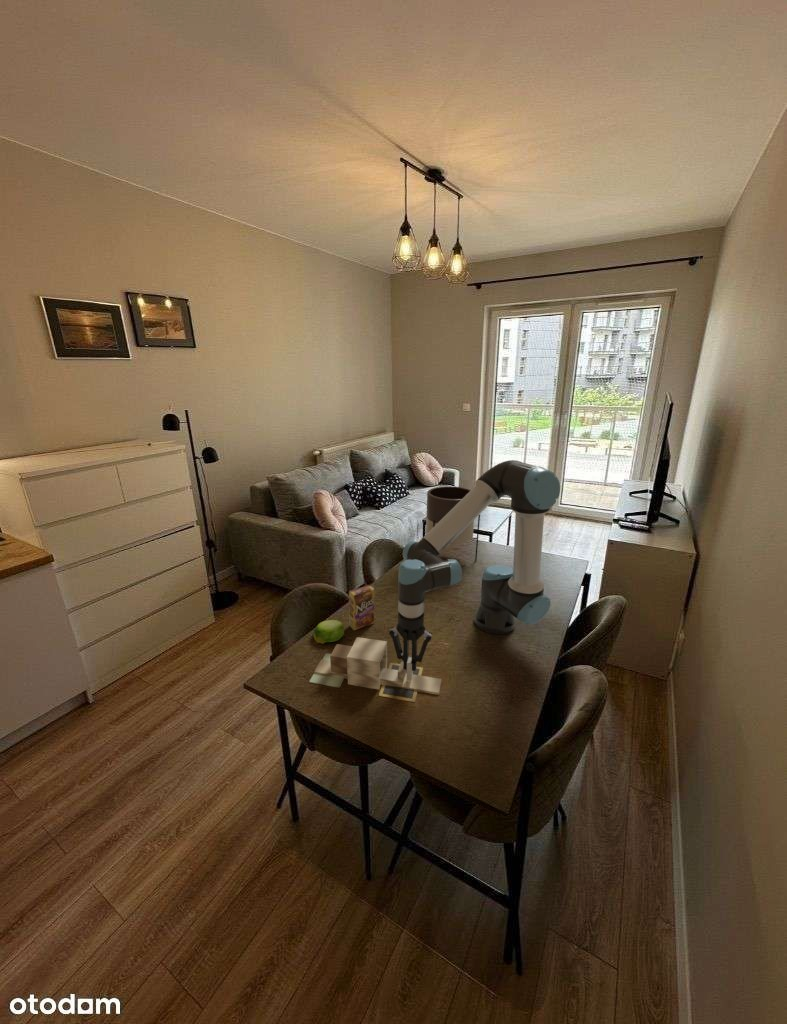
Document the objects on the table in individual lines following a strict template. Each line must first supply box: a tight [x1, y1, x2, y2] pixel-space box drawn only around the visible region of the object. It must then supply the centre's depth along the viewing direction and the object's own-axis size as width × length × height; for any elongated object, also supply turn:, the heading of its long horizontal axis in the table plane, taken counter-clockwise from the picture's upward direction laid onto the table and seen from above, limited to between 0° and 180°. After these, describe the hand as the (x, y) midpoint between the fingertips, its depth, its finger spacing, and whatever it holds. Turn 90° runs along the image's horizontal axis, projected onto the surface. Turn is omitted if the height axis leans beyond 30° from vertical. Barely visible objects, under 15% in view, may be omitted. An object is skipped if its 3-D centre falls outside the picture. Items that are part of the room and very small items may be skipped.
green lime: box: [312, 619, 345, 645], centre depth 151 cm, size 12×11×5 cm
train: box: [329, 643, 406, 685], centre depth 131 cm, size 24×6×7 cm, turn 77°
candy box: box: [348, 584, 375, 631], centre depth 156 cm, size 9×4×15 cm, turn 123°
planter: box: [425, 485, 481, 562], centre depth 206 cm, size 26×25×35 cm
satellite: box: [308, 637, 442, 703], centre depth 130 cm, size 40×15×10 cm, turn 77°
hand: (409, 677), depth 129 cm, fingers closed
